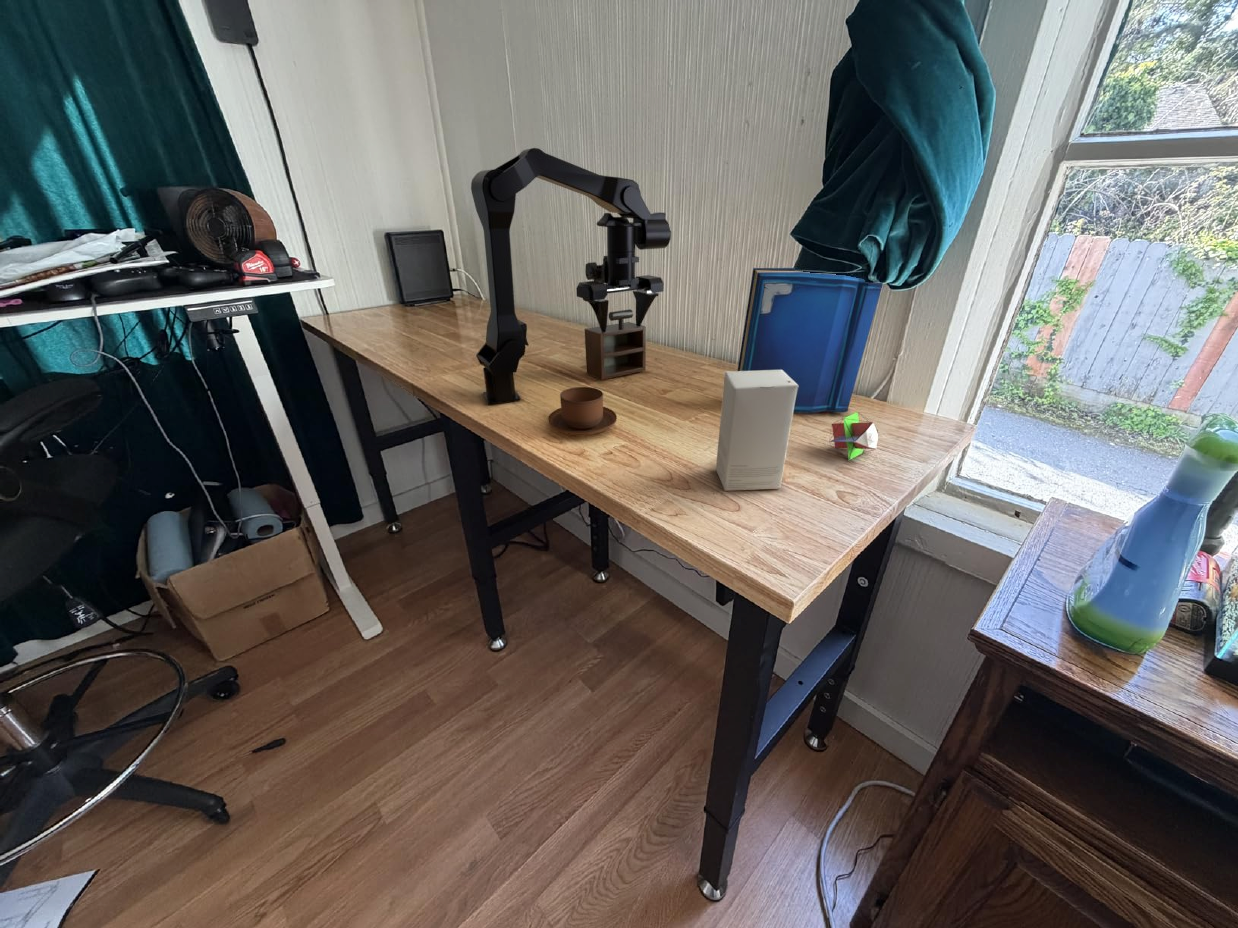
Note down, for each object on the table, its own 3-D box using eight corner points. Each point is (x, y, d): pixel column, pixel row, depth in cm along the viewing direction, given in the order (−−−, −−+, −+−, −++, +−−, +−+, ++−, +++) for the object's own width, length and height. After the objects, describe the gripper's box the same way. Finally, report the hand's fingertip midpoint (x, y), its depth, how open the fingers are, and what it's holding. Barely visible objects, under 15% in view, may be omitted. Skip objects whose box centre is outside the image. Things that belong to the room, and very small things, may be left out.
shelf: (583, 310, 106) (599, 314, 102) (628, 304, 112) (646, 308, 108) (586, 373, 113) (601, 379, 108) (629, 364, 119) (645, 370, 114)
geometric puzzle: (809, 435, 79) (846, 408, 73) (833, 425, 83) (870, 397, 77) (836, 473, 77) (876, 448, 71) (859, 460, 81) (899, 435, 75)
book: (843, 403, 98) (875, 268, 86) (854, 417, 91) (890, 274, 79) (732, 398, 99) (748, 266, 87) (736, 412, 93) (754, 272, 81)
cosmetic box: (768, 468, 74) (785, 368, 67) (782, 491, 68) (802, 385, 61) (712, 469, 74) (723, 368, 67) (722, 492, 68) (735, 385, 61)
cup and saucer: (535, 425, 88) (533, 392, 85) (589, 408, 95) (588, 378, 92) (575, 448, 80) (573, 413, 77) (630, 428, 87) (631, 395, 84)
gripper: (635, 245, 110) (634, 316, 118) (561, 250, 101) (565, 327, 108) (666, 249, 102) (663, 325, 110) (589, 255, 93) (592, 338, 100)
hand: (621, 328), depth 107 cm, fingers open, 9 cm apart
